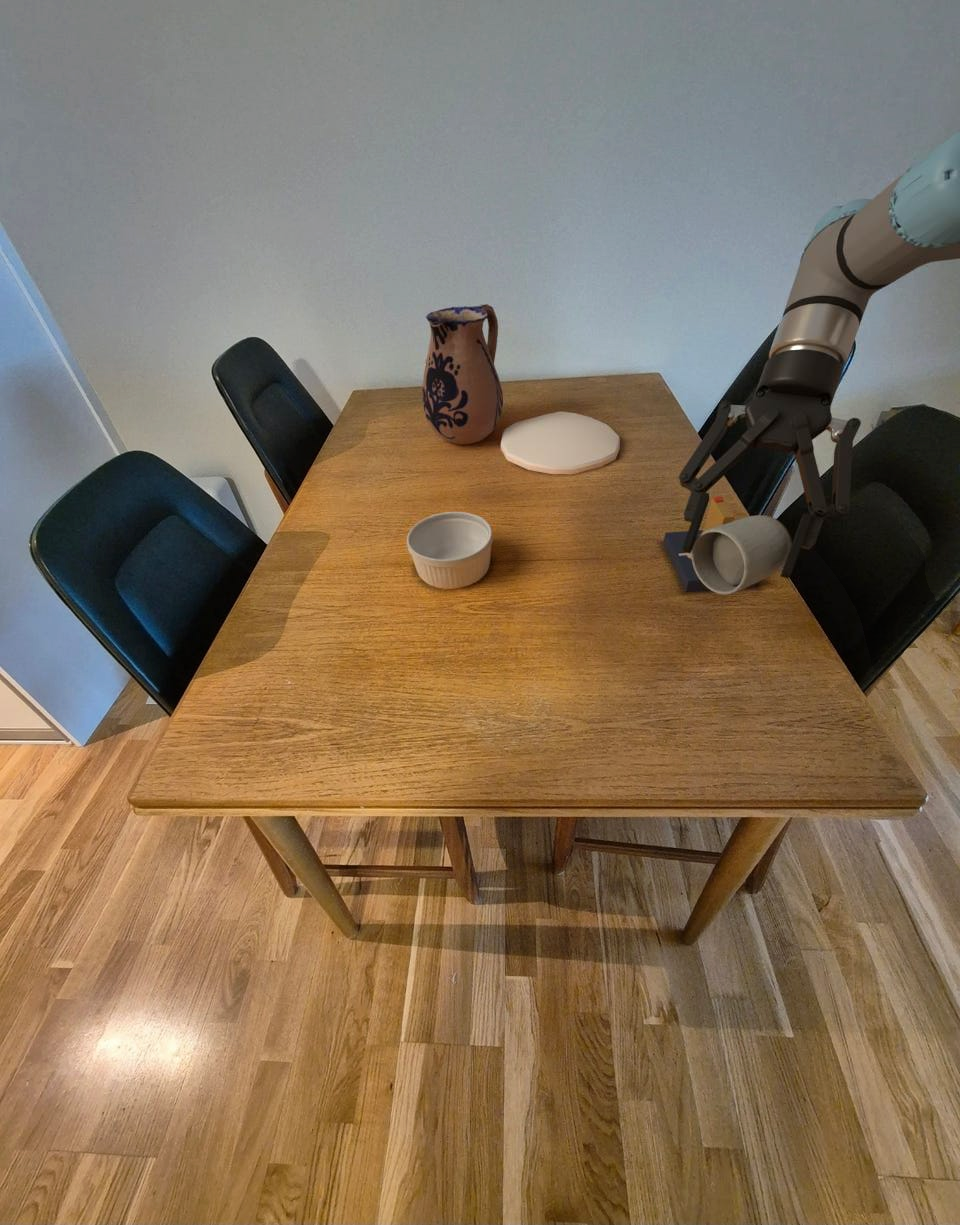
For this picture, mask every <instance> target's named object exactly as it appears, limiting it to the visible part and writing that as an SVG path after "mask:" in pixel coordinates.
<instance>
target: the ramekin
mask: <svg viewBox="0 0 960 1225" xmlns="http://www.w3.org/2000/svg"><path fill="white" fill-rule="evenodd" d="M493 541H494V535H493V529H492V526H491V525H490V523H489V522H488V521H487V520H486V519H484V518H483V517H481V516H479V515H477V514H474V513H471V512H466V511H445V512H439V513H436V514H433V515H429V516H427V517H425V518H422V519H421V520H419V521H418V522H417V523H415V524H414V525H413V526H412V527H411V528H410V530H409V532H408V533H407V536H406V544H407V550H408V552H409V554H410V556H411V558H412V561H413V564H414V566H415V569H416V572H417V574H418V576H419V577H420V579H421V580H422V581H423V582H424V583H426V584H428V585H429V586H432V587H434V588H438V589H443V590H444V589H446V590H451V589H452V590H453V589H461V588H465V587H468V586H471V585H473V584H476V583H477V582H478V581H481V579H482V578H483V577H484V576H485V575H486V574H487V572H488V570H489V568H490V564H491V554H492V545H493Z"/></svg>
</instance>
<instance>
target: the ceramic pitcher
mask: <svg viewBox="0 0 960 1225" xmlns="http://www.w3.org/2000/svg"><path fill="white" fill-rule="evenodd" d="M425 318H426V320H427V322H428V323H429V327H430V340H429V344H428V348H427V354H426V358H425V366H424V371H423V372H424V373H423V379H422V380H423V383H422V407H423V413H424V416H425V419H426V421H427V423H428V425H429V426H430V428H431V429H432V430H433V432H434V433H435V434H436V435H437V436H439V437H440V438H441V439H442V440H444V441H446V442H448V443H451V444H454V445H471V444H476V443H479V442H481V441H483V440H484V439H486V438H487V437H488V436H489V435H491V434H492V432H494V430H495V429H496V427H497V425H498V423H499V421H500V418H501V415H502V413H503V411H502V410H503V407H504V394H503V393H504V392H503V388H502V385H501V381H500V378H499V375H498V372H497V369H496V366H495V360H496V353H497V346H498V336H499V322H498V317H497V315H496V312H495V309H494V307H493V306H492V305H490V304H488V303H486V304H479V305H476V306H467V305H466V306H452V307H446V308H442V309H438V310H434V311H430V312H429V313H428V314H427V315H426V316H425ZM485 321H487V324H488V329H487V330H488V331H487V341H486V338H485V335H484V328H483V327H484V322H485Z"/></svg>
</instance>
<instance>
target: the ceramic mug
mask: <svg viewBox="0 0 960 1225" xmlns="http://www.w3.org/2000/svg"><path fill="white" fill-rule="evenodd" d="M792 543H793V540H792V537H791V535H790V533H789V531H788V529H787V528H786V526H785V525H784V524H783V523H782V522H781V521H779V520H778V519H776V518H774V517H773V516H769V515H763V514H758V515H757V514H756V515H750V516H745V517H742V518H739V519H737V520H733V522H730V523H727V524H724V525H720V526H717V527H713V528H710V529H708V530H706V531H704V532H702V533H701V534H700V535H699V536H698V537H697V538H696V539H695V541H694V544H693V547H692V551H691V554H690V553H687V557H688V558H690V559H692V564H693V567H694V570H695V572H696V574H697V576H698V578H699V579H700V580H701V582H702V583H703V584H704V585H705V586H706V587H707V588H708V589H710V590H711V591H710V592H713V593H714V594H718V595H724V596H728V595H733V594H735V593H739V592H740V591H742V590H744V589H747V588H746V587H748V586H750V585H752V584H755V583H757V584H758V583H759V582H761V581H762V580H765V579H768V578H769V577H770V578H771V577H772V576H774V575H775V574H777V573H779V572H780V571H782V570H783V568H784V565H785V562H786V559H787V557H788V554H789V551H790V548H791V546H792Z"/></svg>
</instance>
